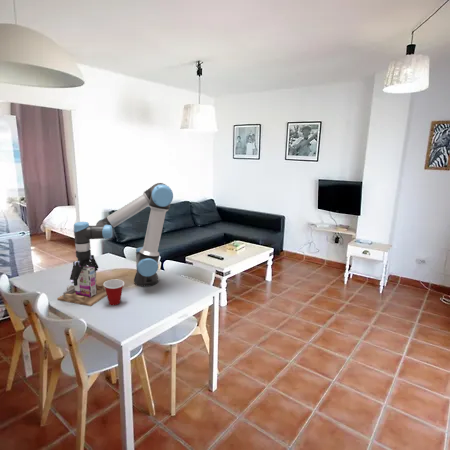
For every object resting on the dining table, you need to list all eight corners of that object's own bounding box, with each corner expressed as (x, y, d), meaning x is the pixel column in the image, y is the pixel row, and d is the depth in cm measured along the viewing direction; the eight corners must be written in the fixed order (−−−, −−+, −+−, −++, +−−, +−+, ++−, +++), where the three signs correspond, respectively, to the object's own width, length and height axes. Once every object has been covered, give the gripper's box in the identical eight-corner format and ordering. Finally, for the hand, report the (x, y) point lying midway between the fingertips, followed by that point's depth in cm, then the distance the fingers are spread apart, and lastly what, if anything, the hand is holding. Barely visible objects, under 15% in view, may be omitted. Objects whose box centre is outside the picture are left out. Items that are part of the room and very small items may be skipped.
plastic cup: (114, 309, 166) (112, 288, 164) (100, 304, 172) (98, 283, 169) (129, 301, 176) (128, 281, 173) (115, 297, 181) (114, 277, 178)
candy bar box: (97, 294, 181) (95, 267, 178) (90, 297, 177) (88, 270, 173) (81, 291, 185) (79, 264, 181) (75, 294, 180) (72, 267, 177)
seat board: (111, 292, 187) (111, 284, 185) (90, 306, 170) (90, 297, 169) (80, 287, 193) (79, 279, 191) (57, 300, 176) (56, 291, 174)
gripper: (92, 243, 188) (94, 277, 192) (60, 255, 164) (63, 293, 169) (103, 244, 185) (105, 278, 190) (72, 257, 162) (75, 295, 167)
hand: (85, 285), depth 179 cm, fingers open, 13 cm apart
